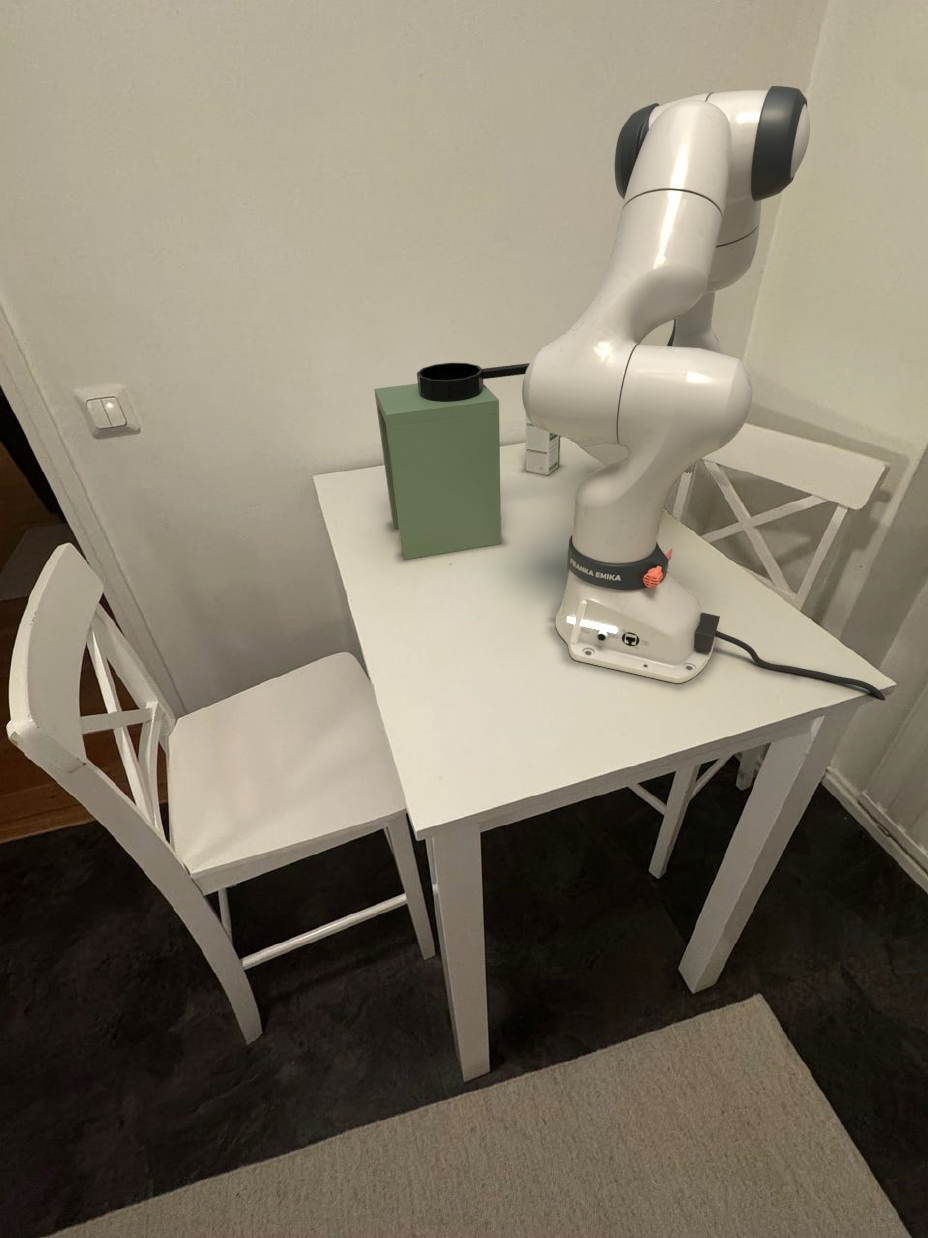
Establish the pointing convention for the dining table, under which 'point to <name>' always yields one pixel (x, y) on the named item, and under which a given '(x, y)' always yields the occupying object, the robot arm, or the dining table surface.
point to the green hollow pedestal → (441, 470)
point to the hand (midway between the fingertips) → (581, 373)
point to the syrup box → (541, 450)
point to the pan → (459, 380)
